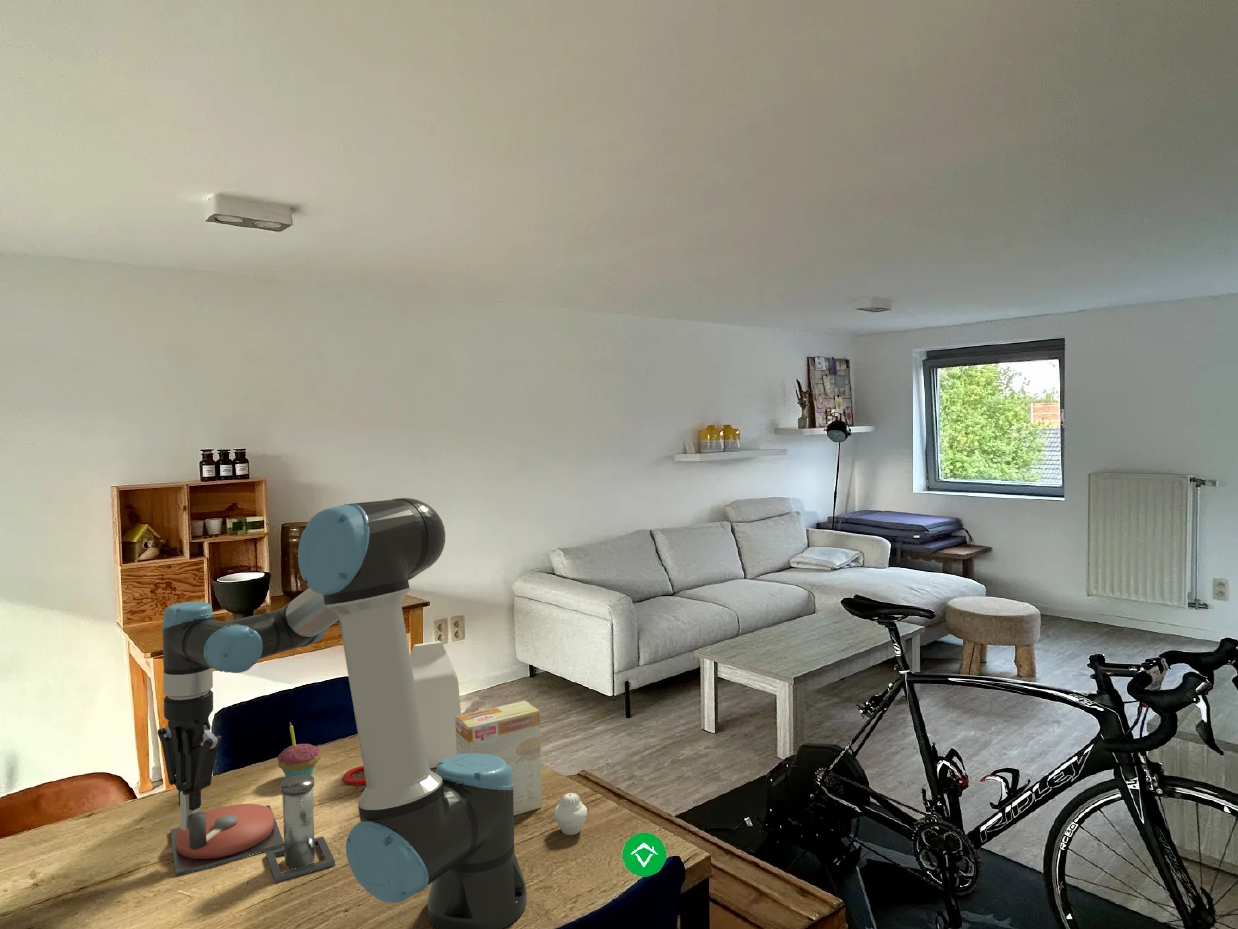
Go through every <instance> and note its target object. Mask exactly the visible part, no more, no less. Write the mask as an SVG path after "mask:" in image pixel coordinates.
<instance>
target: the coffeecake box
mask: <svg viewBox="0 0 1238 929" xmlns="http://www.w3.org/2000/svg"><path fill="white" fill-rule="evenodd" d="M540 717H541V716H540V709H538V708H537V707H535V706H533V705H532V704H531V703H530V702H528V701H526V700H522V701H517V702H514V703H508V704H504V705H501V706H496V707H491V708H487V709H486V708H485V709H482V710H479V711H474V712H469V713H466V714H461V715H460V716H456V717H455V718H456V753H457V755H458V754H466V753H480V754H488V755H493V756H497V757H499V758H502V759H504V760H505V761H506V762H507V763H508V764H509V765H510V767H511V770H512V778H513V785H514V789H513V799H514V817H515V816H519V815H522V814H525V813H528V812H532V811H536V810H538V809H541V808H542V807H543V803H542V802H543V799H542V798H543V795H542V794H543V792H542V791H543V790H542V762H541V761H542V756H541V753H542V752H541V724H540V723H541V722H540V720H541V719H540Z"/></svg>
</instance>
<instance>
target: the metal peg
mask: <svg viewBox="0 0 1238 929" xmlns="http://www.w3.org/2000/svg"><path fill="white" fill-rule="evenodd" d="M314 786H315V777H314V776H313V775H312V776H310V775H297V776H292V777H289V778H285V779H283V780H282V781H281V782H280V784H279V788H280V789H279V790H280V793H281V794H282V797H281V798H282V815H283V816H282V818H283V841H284V850H285V855H284V865H286V866H287V867H286V866H285V867H286V868H288V869H291V868H293V869H295V868H299V867H302V866H306V865H309V864H313V863H314V861H315V860H316V853H315V852H316V851H315V850H316V849H315V847H316V846H315V845H314V839H315V825H314V824H315V822H314V821H315V820H314V797H313V796H314V793H313V790H314ZM314 859H315V860H314Z"/></svg>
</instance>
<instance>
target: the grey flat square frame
mask: <svg viewBox="0 0 1238 929" xmlns="http://www.w3.org/2000/svg"><path fill="white" fill-rule="evenodd" d="M314 845H315V847H318V849H319V852H320V853H322V854H321V856H322V855H323V856H322V858H323V860H321V861H317V862H312V863H311V864H309V865H306V866H302V867H299V868H296V869H290V870H286V871H283V872H282V871H281V869H280V866H279V863H278V861H277V858H278V857H280V855H282V856H285V855H284V854H285V850H284V847H281V848H277V849H274V850H270V851H266V852H265V858H267V859H266V861H268V862H267V865H268V867H270V868H269V871H270V873H271V877H272V880H273V883H274V884H277V883H281V882H283V881H286V880H290V879H293V878H297V877H300V876H304V875H307V874H310V873H309V872H311V871H314V872H318V871H321V870H323V869H328V868H330V867H329V866H331V867H333V865H334V866H336V860H335V858H334V856H333V853H332V851H331V849H330V848H329V845H328V843H327V842H326V839H325V837H324V836H318V837H314ZM327 867H328V868H327ZM320 869H321V870H320ZM306 873H307V874H306ZM311 873H312V872H311Z"/></svg>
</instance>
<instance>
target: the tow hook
mask: <svg viewBox="0 0 1238 929" xmlns="http://www.w3.org/2000/svg"><path fill="white" fill-rule="evenodd" d="M362 772H364V767H363V765H360V766H356V767H353V768H351V769H349V770H347V771H346V772H345V773H344V774H343V775H342V781H344V782H345V783H344V782H343V783H344V784H345V785H349V786H361V785H366V779H365V777H364V778H363V777H362V778H353V776H354V775H356V774H358V773H362ZM355 773H356V774H355ZM353 774H354V775H353ZM352 775H353V776H352Z"/></svg>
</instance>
